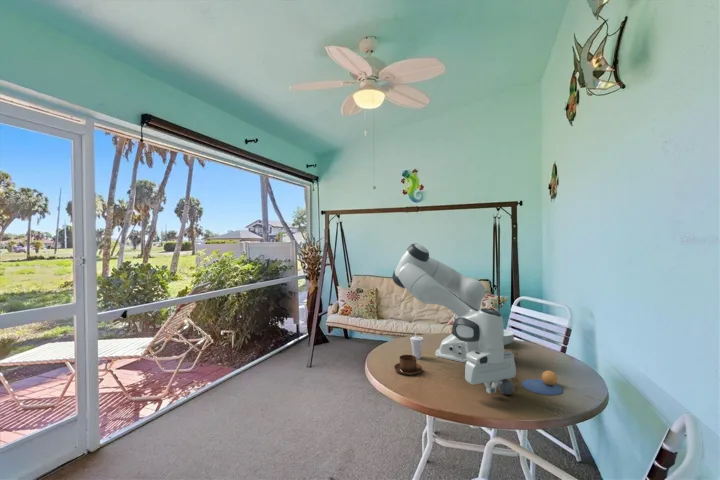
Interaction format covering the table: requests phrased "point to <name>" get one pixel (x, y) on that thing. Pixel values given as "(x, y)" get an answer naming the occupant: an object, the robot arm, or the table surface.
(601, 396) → the table surface
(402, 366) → the cup and saucer
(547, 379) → the orange ball
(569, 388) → the table surface
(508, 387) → the charcoal ball
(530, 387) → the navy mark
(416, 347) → the smoothie
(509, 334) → the cereal bowl
